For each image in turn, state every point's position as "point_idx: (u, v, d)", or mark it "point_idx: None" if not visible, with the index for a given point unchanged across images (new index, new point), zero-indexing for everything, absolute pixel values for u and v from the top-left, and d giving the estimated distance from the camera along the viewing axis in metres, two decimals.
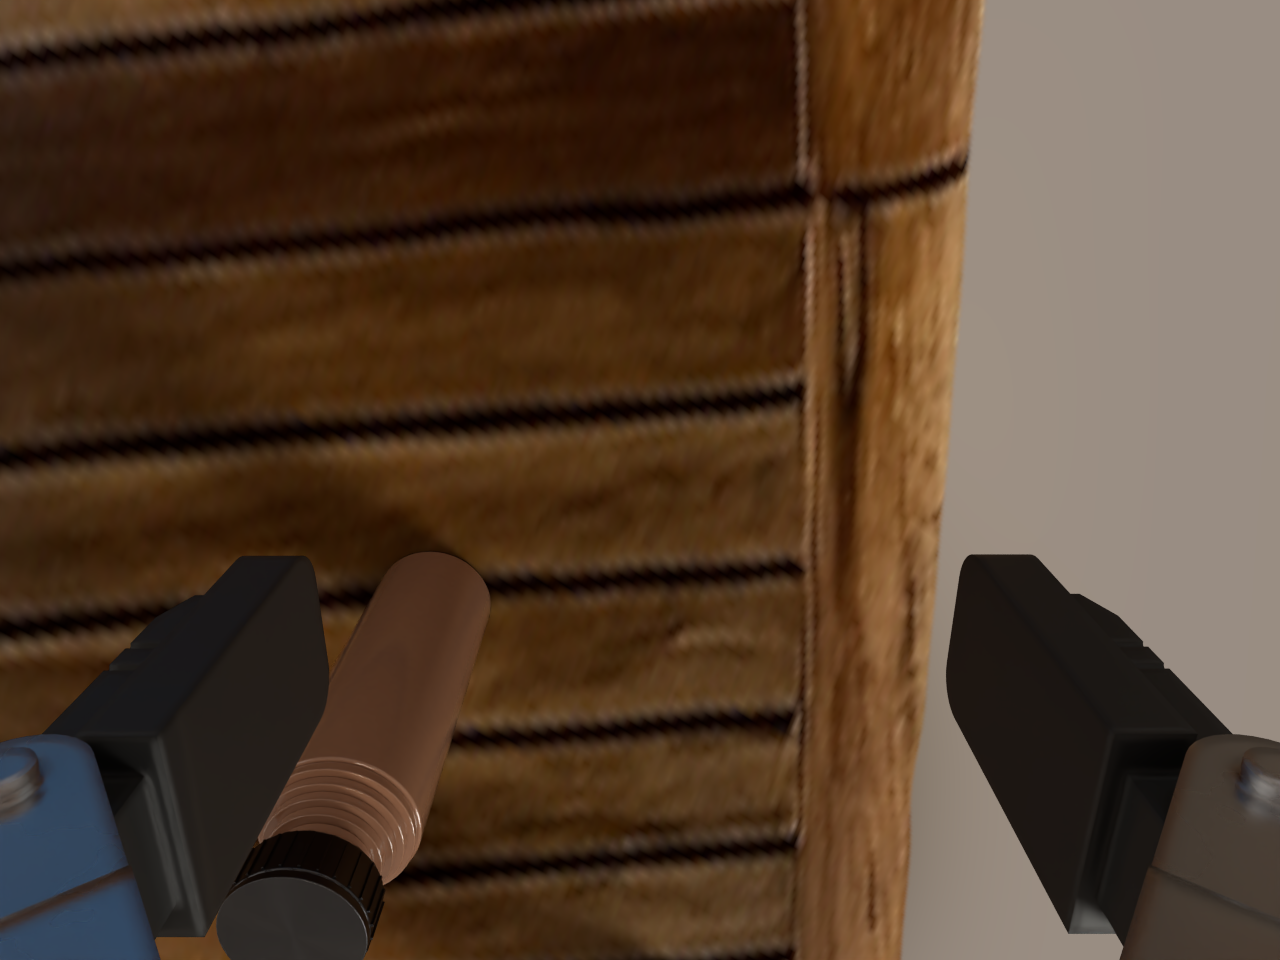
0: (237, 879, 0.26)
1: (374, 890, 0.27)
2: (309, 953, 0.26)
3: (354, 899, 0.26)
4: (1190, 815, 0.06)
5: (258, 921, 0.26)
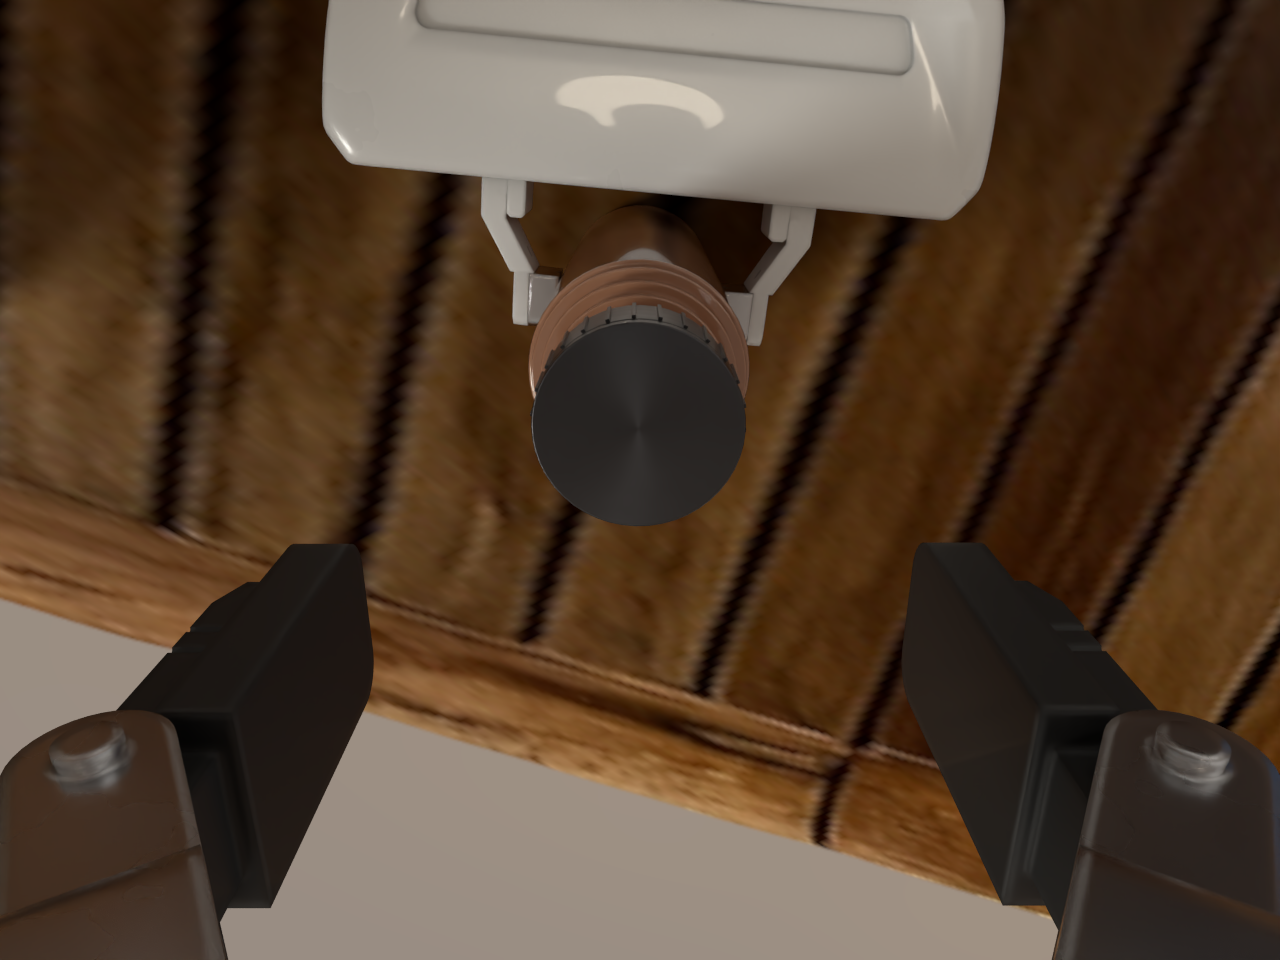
0: (738, 383, 0.19)
1: None
2: (598, 434, 0.18)
3: (649, 517, 0.19)
4: (1112, 791, 0.07)
5: (679, 399, 0.18)
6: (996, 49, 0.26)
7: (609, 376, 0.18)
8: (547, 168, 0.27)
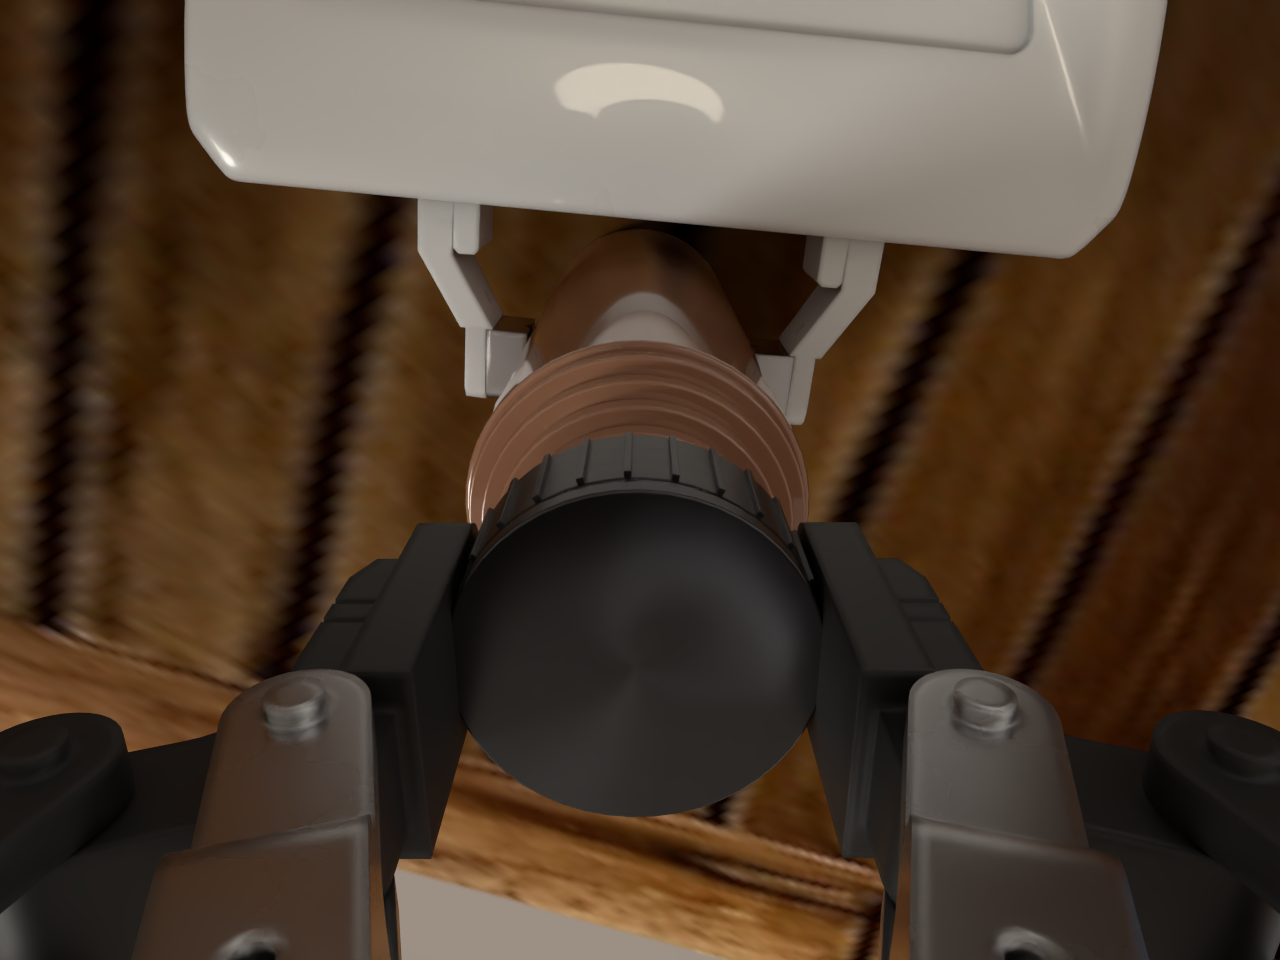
0: (812, 582, 0.10)
1: None
2: (565, 675, 0.10)
3: (655, 795, 0.11)
4: (925, 755, 0.07)
5: (710, 619, 0.10)
6: (1156, 15, 0.18)
7: (583, 581, 0.10)
8: (507, 187, 0.19)
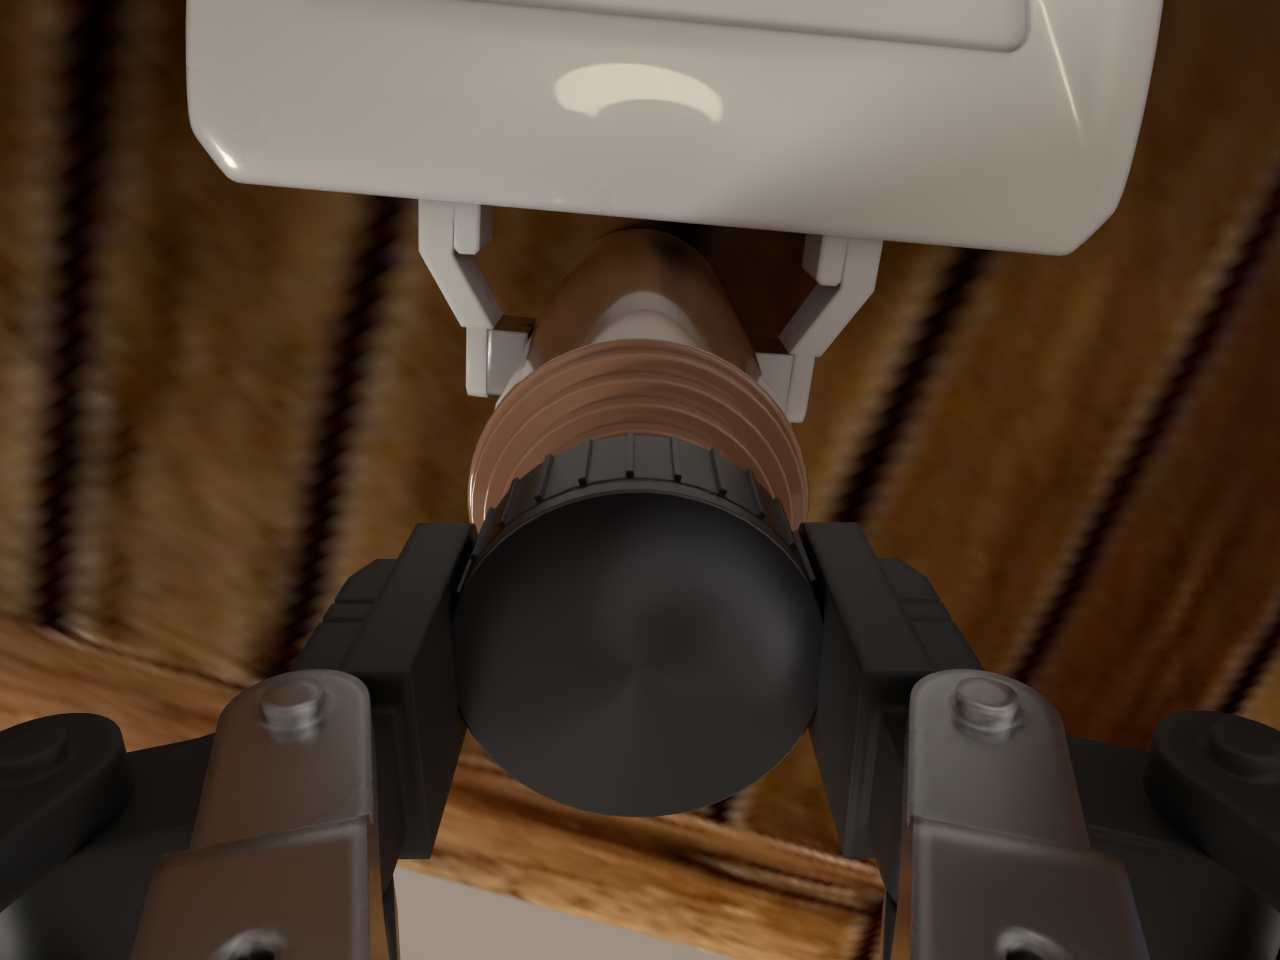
0: (544, 491, 0.10)
1: None
2: (654, 725, 0.11)
3: (815, 617, 0.10)
4: (927, 755, 0.07)
5: (573, 608, 0.10)
6: (1153, 13, 0.18)
7: (550, 717, 0.11)
8: (507, 187, 0.19)
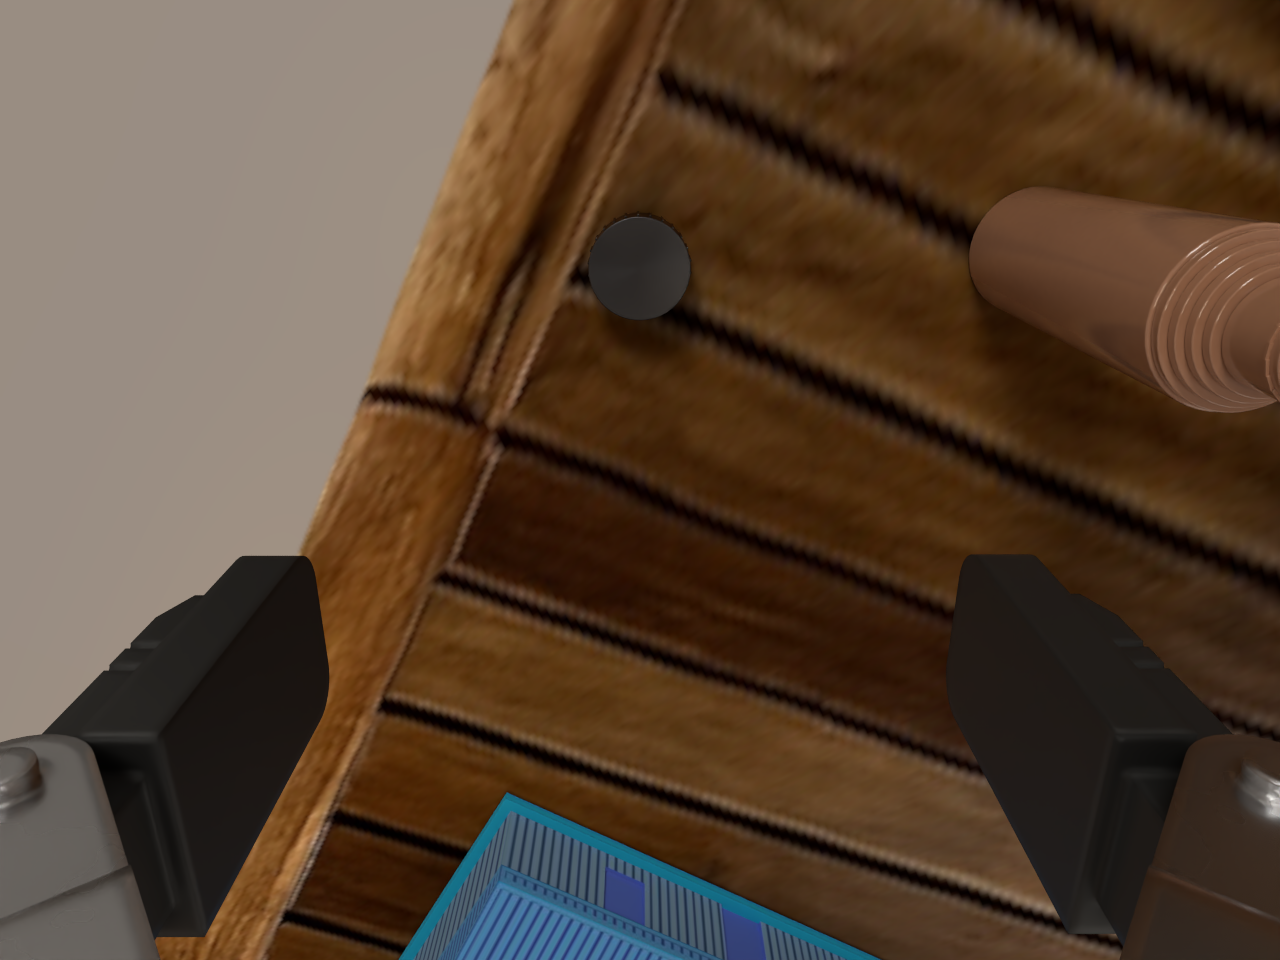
0: (673, 228, 0.38)
1: None
2: (623, 280, 0.39)
3: (666, 309, 0.39)
4: (1190, 816, 0.06)
5: (650, 247, 0.38)
6: None
7: (615, 252, 0.38)
8: None
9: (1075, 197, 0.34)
